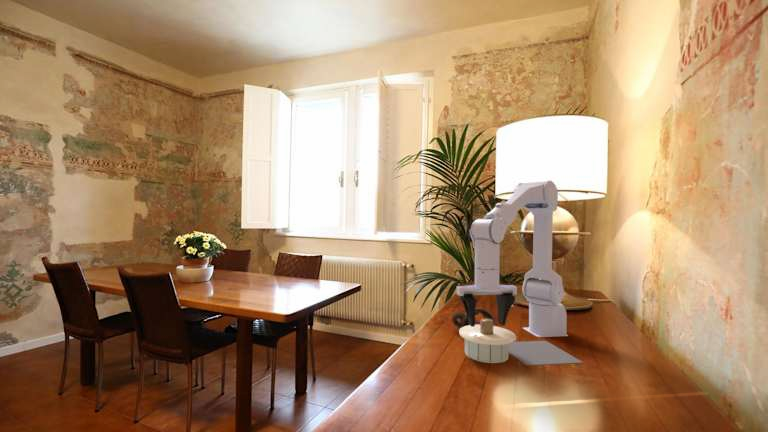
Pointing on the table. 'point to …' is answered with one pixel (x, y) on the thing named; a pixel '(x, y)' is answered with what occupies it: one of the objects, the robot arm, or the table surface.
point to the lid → (487, 334)
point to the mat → (540, 353)
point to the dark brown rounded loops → (465, 320)
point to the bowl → (487, 352)
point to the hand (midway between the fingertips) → (486, 324)
